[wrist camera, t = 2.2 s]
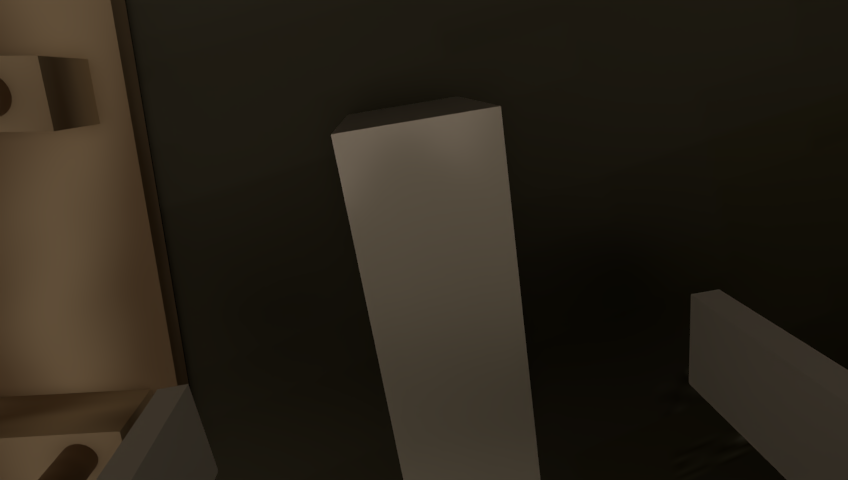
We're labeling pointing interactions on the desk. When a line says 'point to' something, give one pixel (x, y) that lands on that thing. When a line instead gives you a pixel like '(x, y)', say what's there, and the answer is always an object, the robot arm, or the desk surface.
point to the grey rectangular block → (442, 285)
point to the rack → (77, 243)
